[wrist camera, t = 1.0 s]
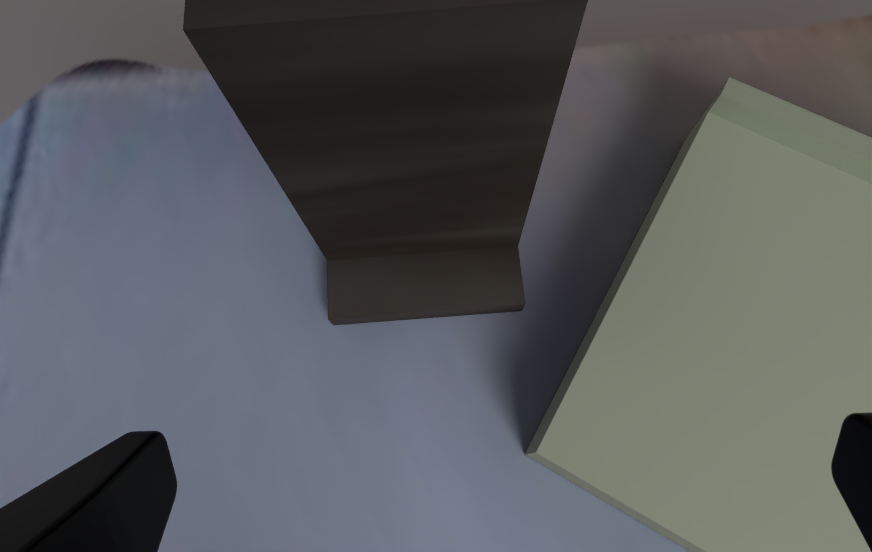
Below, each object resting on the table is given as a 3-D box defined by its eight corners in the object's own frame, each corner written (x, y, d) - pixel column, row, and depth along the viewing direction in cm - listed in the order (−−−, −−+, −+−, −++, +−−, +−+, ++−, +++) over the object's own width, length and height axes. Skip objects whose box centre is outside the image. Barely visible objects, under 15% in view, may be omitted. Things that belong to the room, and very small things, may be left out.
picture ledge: (874, 658, 18) (985, 710, 14) (524, 454, 20) (540, 451, 16) (994, 279, 22) (1109, 239, 18) (685, 139, 24) (729, 77, 20)
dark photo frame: (521, 310, 22) (609, 107, 9) (333, 325, 22) (174, 141, 9) (504, 166, 24) (558, -163, 11) (331, 179, 24) (195, -132, 11)
